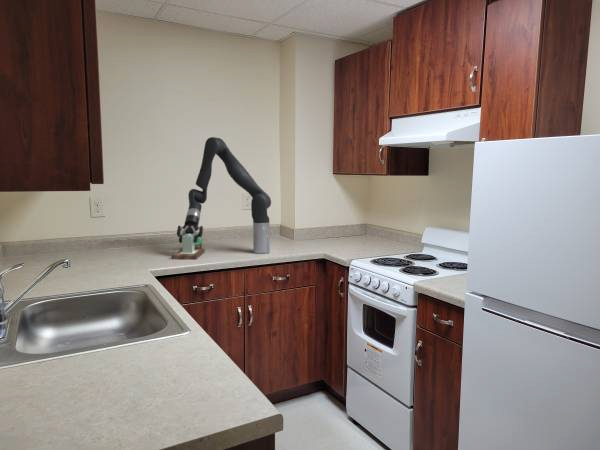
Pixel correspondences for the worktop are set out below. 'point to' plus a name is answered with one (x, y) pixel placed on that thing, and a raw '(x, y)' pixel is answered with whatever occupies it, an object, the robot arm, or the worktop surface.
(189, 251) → the sage block
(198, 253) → the base board
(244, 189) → the robot arm
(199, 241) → the food container
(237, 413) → the worktop surface
